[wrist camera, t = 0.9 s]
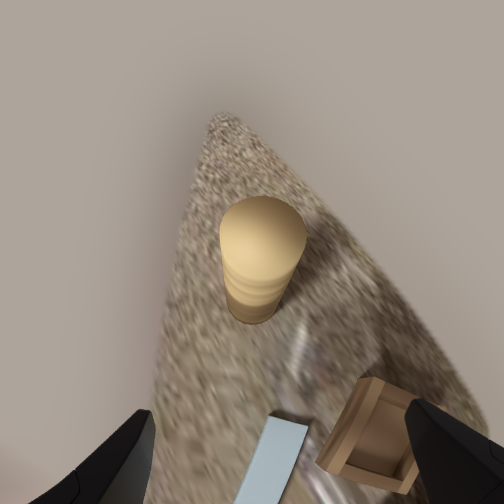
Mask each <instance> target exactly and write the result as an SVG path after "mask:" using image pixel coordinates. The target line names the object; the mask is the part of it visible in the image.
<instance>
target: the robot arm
mask: <svg viewBox="0 0 504 504" xmlns="http://www.w3.org/2000/svg"><path fill="white" fill-rule="evenodd" d="M404 420H405V424H406V428H407V432H408V436H409V440H410V444H411V448H412V452H413V455H414V458H415V461H416V464H417V467H418V469H419V472H420V475H421V478H422V481H423V484H424V487H425V490H426V493H427V496H428V500H429V503H430V504H504V448H503V447H501V446H500V445H498V444H496V443H495V442H493V441H491V440H488V438H486V437H485V436H483V435H481V434H480V433H478V432H477V431H475V430H473V429H472V428H470V427H468V426H467V425H465V424H464V423H462V422H460V421H459V420H457V419H456V418H454V417H452V416H451V415H449V414H448V413H446V412H445V411H443V410H441V409H440V408H438V407H437V406H435V405H434V404H432V403H430V402H429V401H427V400H426V399H424V398H416V399H413V400H412V401H411V402H410V404H409V406H408V408H407V410H406V412H405V415H404ZM155 431H156V428H155V423H154V419H153V416H152V413H151V411H150V410H144V409H139V410H137V411H136V412H135V413H134V414H133V415H132V416H131V417H130V418H129V419H128V420H127V421H126V422H125V423H124V424H122V425H121V427H119V428H118V429H117V430H116V431H115V432H114V433H113V434H112V435H111V436H110V437H109V438H108V439H107V440H106V441H105V442H104V443H103V444H101V445H100V446H99V447H98V448H97V449H96V450H95V451H94V452H93V453H92V454H91V455H89V456H88V457H87V458H86V459H85V460H84V461H83V462H82V463H81V464H80V465H79V466H78V467H77V468H76V469H75V470H73V471H72V472H71V473H70V474H69V475H67V476H66V477H65V478H64V479H63V480H62V481H60V482H59V483H58V484H57V485H55V486H54V487H52V488H51V489H50V490H48V491H47V492H45V493H44V494H42V495H41V496H39V497H38V498H36V499H35V500H33V501H32V502H30V503H28V504H143V500H144V496H145V492H146V488H147V484H148V479H149V475H150V471H151V465H152V456H153V448H154V439H155Z"/></svg>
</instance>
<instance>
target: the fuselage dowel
mask: <svg viewBox="0 0 504 504" xmlns="http://www.w3.org/2000/svg"><path fill="white" fill-rule="evenodd" d="M306 240H307V232H306V227H305V224H304V222H303V219H302V218H301V216H300V215H299V213H298V212H297V211H296V210H295V209H294V208H293V207H292V206H290V205H289V204H287V203H286V202H284V201H282V200H279V199H277V198H273V197H268V196H255V197H250V198H246V199H244V200H241V201H239V202H238V203H236V204H235V205H233V206H232V207H231V208H230V209H229V210H228V211H227V212H226V214H225V216H224V217H223V219H222V222H221V225H220V244H221V253H222V263H223V272H224V282H225V291H226V299H227V306H228V309H229V311H230V313H231V314H232V315H233V317H234V318H236V319H237V320H238V321H240V322H242V323H245V324H250V325H255V324H260V323H263V322H265V321H267V320H268V319H269V318H270V317H271V316H272V315H273V314H274V312H275V310H276V308H277V306H278V304H279V302H280V300H281V298H282V296H283V294H284V292H285V289H286V287H287V285H288V283H289V281H290V279H291V277H292V275H293V273H294V270H295V268H296V266H297V264H298V262H299V260H300V257H301V255H302V253H303V251H304V248H305V245H306Z"/></svg>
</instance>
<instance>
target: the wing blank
mask: <svg viewBox="0 0 504 504" xmlns="http://www.w3.org/2000/svg"><path fill="white" fill-rule="evenodd" d="M307 429H308V426H306V425H303V424H299V423H295V422H291V421H287V420H284V419H280V418H277V417H273V416H270V415H268V417H267V420H266V422H265V425H264V428H263V430H262V433H261V436H260V438H259V441H258V443H257V446H256V449H255V451H254V454H253V456H252V459H251V461H250V464H249V466H248V469H247V471H246V473H245V476H244V478H243V481H242V483H241V485H240V488H239V490H238V493H237V495H236V497H235V499H234V502H233V504H278V501H279V499H280V497H281V495H282V492H283V490H284V488H285V485H286V483H287V481H288V478H289V476H290V473H291V471H292V469H293V466H294V464H295V461H296V458H297V456H298V453H299V451H300V448H301V445H302V443H303V440H304V437H305V435H306V432H307Z"/></svg>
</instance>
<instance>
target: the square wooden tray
mask: <svg viewBox="0 0 504 504" xmlns="http://www.w3.org/2000/svg"><path fill="white" fill-rule="evenodd" d="M416 398H421V397H419V396H416V395H414V394H412V393H410V392H407V391H405V390H403V389H401V388H398V387H396V386H394V385H392V384H390V383H387V382H385V381H383V380H381V379H379V378H377V377H367V378H359V379H358V381H357V383H356V385H355V387H354V389H353V392H352V394H351V396H350V398H349V400H348V402H347V404H346V406H345V408H344V410H343V412H342V414H341V416H340V418H339V420H338V422H337V423H336V425H335V427H334V429H333V431H332V433H331V435H330V436H329V438H328V440H327V442H326V443H325V445H324V447H323V449H322V450H321V452H320V454H319V456H318V457H317V459H316V461H315V463H316V464H317V465H319V466H320V467H321V468H322V469H323V470H324V471H326V472H328V473H331V474H334V475H337V476H340V477H343V478H346V479H349V480H352V481H356V482H359V483H362V484H366V485H369V486H373V487H376V488H380V489H384V490H388V491H392V492H396V493H400V494H405V495H407V493H408V491H409V489H410V488H411V486H412V484H413V482H414V480H415V478H416V477H417V475H418V473H419V469H418V467H417V464H416V461H415V458H414V455H413V452H412V448H411V444H410V440H409V436H408V432H407V428H406V424H405V420H404V415H405V412H406V410H407V408H408V406H409V404H410V402H411V401H412V400H413V399H416ZM427 401H428V400H427ZM429 402H430V401H429ZM430 403H432V404H434V405H435V406H437V407H438V408H440V409H441V410H443V411H445V412H446V410H447V408H445V407H442V406H440V405H437V404H435V403H433V402H430Z"/></svg>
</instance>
